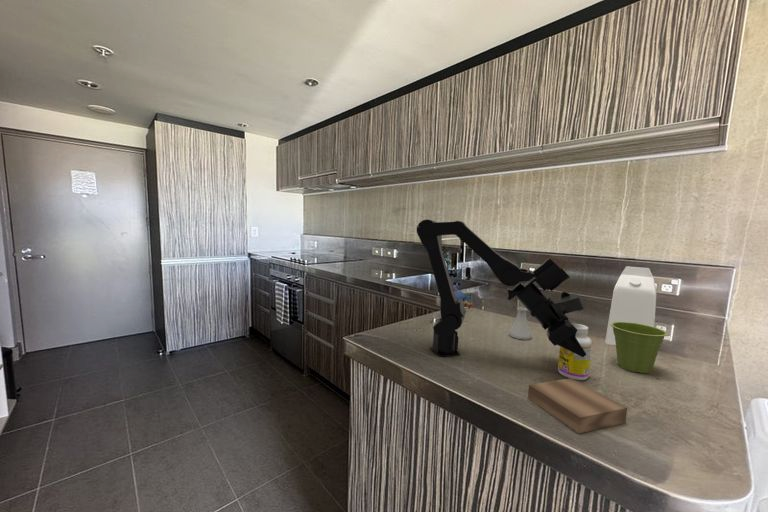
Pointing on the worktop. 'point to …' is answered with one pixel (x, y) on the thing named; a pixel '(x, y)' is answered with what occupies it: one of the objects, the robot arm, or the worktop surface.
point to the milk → (633, 300)
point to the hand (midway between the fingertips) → (581, 350)
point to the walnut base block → (577, 405)
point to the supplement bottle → (576, 357)
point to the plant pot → (637, 345)
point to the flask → (521, 326)
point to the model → (463, 297)
